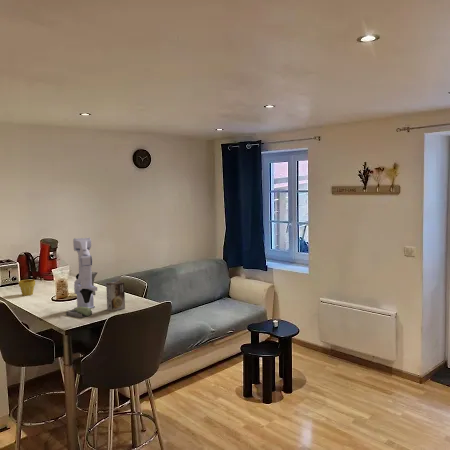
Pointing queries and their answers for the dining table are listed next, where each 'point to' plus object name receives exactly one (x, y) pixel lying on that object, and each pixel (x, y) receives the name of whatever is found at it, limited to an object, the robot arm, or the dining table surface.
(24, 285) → the plant pot
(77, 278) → the coffeepot
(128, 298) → the dining table surface
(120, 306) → the coffee box
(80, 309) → the bottle
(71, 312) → the u rest
